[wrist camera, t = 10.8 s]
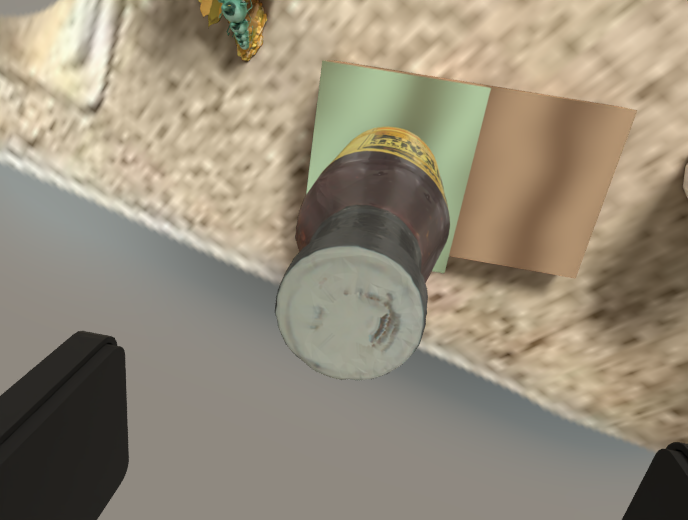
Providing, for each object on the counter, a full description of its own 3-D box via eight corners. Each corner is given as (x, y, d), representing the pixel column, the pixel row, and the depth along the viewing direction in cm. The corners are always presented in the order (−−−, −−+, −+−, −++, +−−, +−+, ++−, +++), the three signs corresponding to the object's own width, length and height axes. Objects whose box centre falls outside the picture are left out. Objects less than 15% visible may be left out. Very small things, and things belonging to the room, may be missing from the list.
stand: (621, 106, 34) (664, 116, 28) (564, 265, 38) (592, 299, 33) (334, 60, 35) (322, 60, 29) (313, 221, 39) (299, 247, 34)
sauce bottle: (457, 178, 31) (541, 352, 12) (380, 238, 33) (357, 464, 14) (389, 96, 29) (372, 156, 11) (314, 164, 31) (195, 311, 13)
